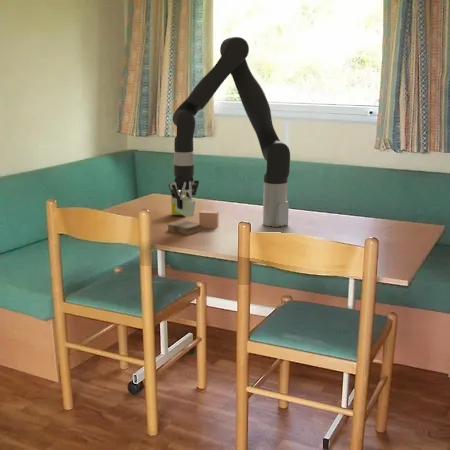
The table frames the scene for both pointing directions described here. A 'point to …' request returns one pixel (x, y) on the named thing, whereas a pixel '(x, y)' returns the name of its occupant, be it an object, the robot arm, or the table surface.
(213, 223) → the terracotta brick
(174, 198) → the supplement box
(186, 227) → the walnut slab
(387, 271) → the table surface
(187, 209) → the sage brick
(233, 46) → the robot arm
